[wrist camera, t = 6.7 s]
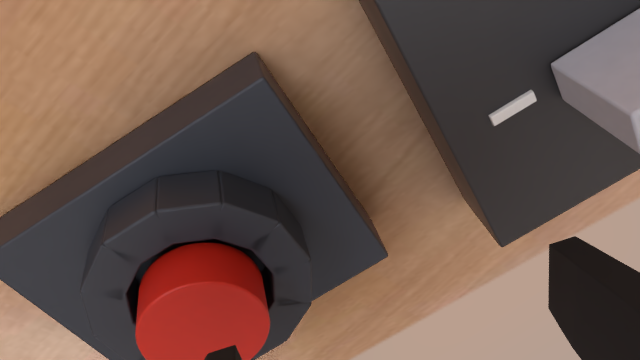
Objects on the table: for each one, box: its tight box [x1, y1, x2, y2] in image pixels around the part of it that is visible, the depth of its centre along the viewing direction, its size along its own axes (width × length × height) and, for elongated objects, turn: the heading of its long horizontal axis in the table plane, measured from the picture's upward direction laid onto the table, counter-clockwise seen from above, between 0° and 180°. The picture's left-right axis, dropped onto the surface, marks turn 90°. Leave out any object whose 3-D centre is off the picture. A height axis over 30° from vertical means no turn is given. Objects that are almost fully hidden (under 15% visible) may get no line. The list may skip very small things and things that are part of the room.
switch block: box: [0, 52, 388, 360], centre depth 18 cm, size 10×8×4 cm
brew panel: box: [359, 0, 640, 247], centre depth 17 cm, size 12×10×3 cm
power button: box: [135, 242, 270, 360], centre depth 16 cm, size 4×4×2 cm
